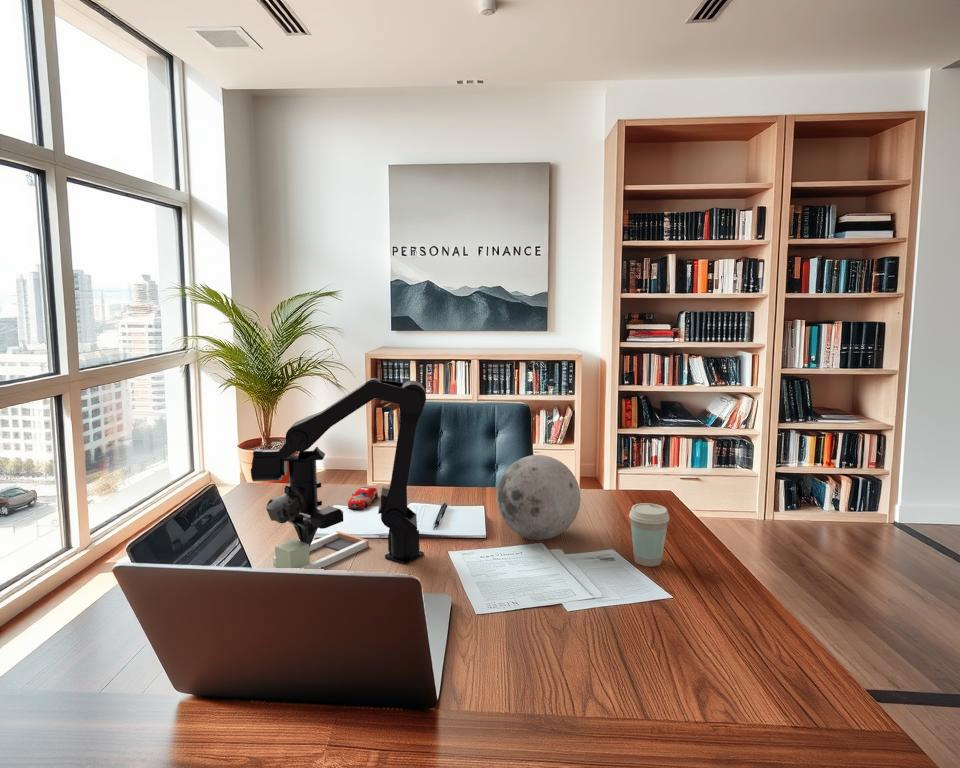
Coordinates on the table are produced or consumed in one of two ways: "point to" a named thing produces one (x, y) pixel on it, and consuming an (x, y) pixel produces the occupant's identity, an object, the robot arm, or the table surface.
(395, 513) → the robot arm
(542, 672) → the table surface
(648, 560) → the coffee cup
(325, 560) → the channel
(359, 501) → the race car
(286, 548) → the block
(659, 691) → the table surface
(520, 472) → the moon model
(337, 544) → the grey and orange drawer
